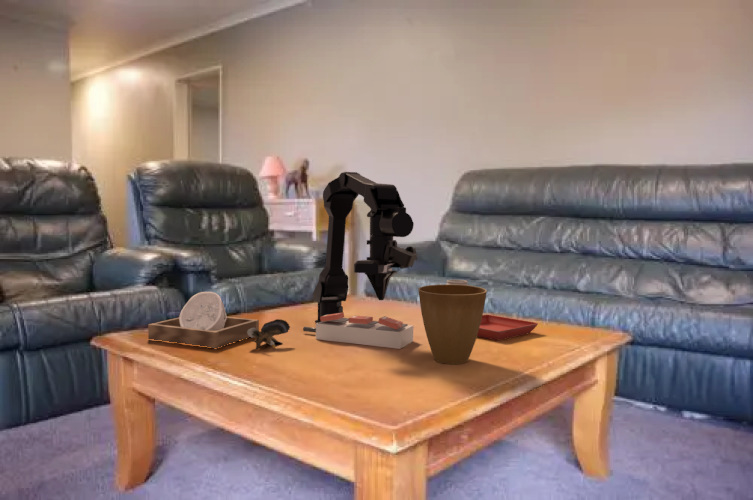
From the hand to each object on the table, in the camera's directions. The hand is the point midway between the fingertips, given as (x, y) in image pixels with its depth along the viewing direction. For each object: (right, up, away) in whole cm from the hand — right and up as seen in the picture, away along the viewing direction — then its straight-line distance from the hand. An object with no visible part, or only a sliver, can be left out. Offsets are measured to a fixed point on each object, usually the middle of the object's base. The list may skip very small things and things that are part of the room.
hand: (381, 300), depth 143 cm
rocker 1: (-12, -5, +6) cm, 15 cm away
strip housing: (-7, -10, +7) cm, 14 cm away
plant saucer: (+31, -11, +18) cm, 37 cm away
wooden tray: (-44, -10, +5) cm, 46 cm away
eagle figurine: (-27, -11, -3) cm, 29 cm away
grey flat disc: (-44, -10, +6) cm, 46 cm away
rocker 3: (+2, -6, 0) cm, 6 cm away
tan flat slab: (+23, -9, +36) cm, 44 cm away
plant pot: (+15, -12, -13) cm, 24 cm away
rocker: (-5, -5, +3) cm, 8 cm away
